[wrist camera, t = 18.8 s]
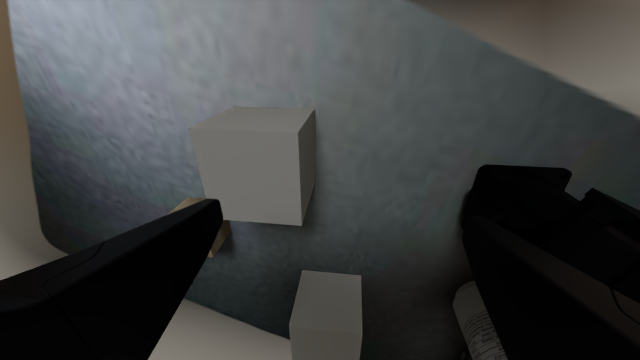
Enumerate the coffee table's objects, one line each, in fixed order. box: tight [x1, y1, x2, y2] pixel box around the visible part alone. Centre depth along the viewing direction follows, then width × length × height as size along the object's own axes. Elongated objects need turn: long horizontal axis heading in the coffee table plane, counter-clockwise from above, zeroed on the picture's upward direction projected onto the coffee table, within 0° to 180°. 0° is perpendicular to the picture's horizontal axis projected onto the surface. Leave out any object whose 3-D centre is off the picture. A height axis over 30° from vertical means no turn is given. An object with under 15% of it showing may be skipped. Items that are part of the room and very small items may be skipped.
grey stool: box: [289, 270, 362, 360], centre depth 27 cm, size 7×7×6 cm
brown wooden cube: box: [169, 198, 231, 257], centre depth 25 cm, size 4×4×4 cm
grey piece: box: [189, 106, 315, 226], centre depth 19 cm, size 7×7×6 cm
